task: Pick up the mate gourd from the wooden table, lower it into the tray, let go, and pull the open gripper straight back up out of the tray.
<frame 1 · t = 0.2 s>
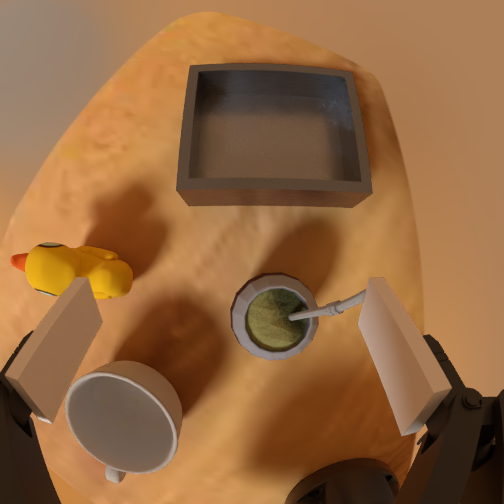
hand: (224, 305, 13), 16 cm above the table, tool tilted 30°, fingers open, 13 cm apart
teacup: (139, 407, 27), on the table
mate gourd: (272, 306, 29), on the table
duckling: (99, 273, 29), on the table
tray: (271, 143, 30), on the table
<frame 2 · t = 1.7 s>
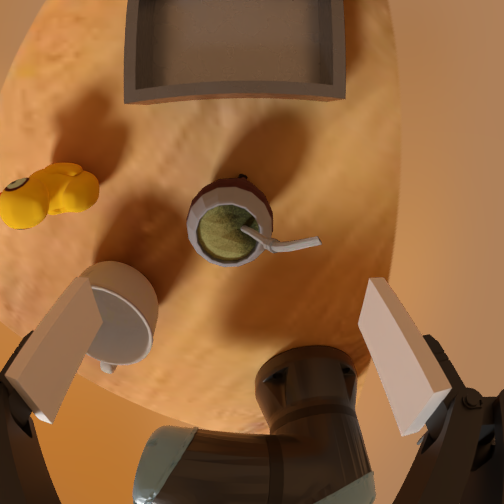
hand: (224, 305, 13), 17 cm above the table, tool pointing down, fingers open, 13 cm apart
teacup: (123, 297, 34), on the table
mate gourd: (236, 199, 29), on the table
duckling: (70, 182, 27), on the table
tray: (235, 30, 21), on the table
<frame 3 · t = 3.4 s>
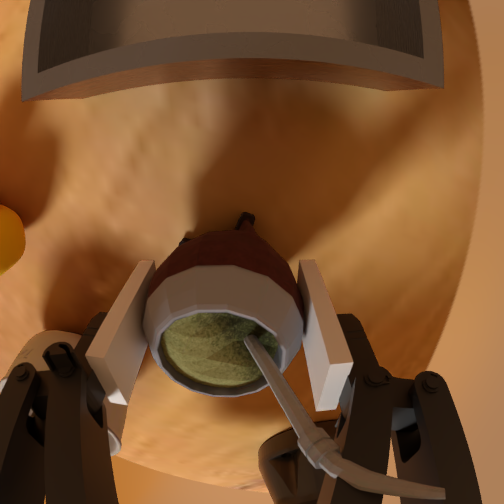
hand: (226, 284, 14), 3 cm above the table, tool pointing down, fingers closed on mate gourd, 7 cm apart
teacup: (86, 366, 23), on the table
mate gourd: (236, 253, 18), on the table, touching gripper
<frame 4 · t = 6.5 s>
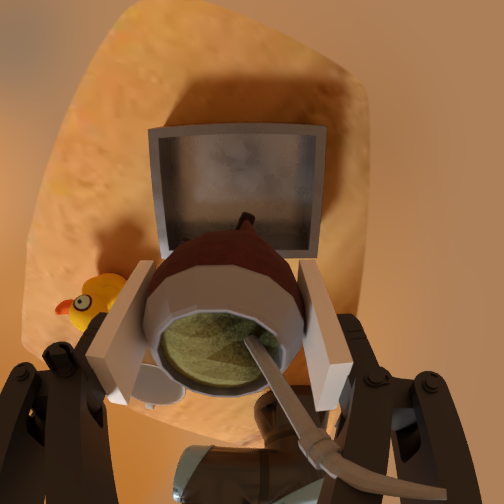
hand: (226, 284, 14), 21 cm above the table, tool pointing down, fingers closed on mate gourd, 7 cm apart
teacup: (158, 356, 46), on the table
mate gourd: (236, 252, 18), point 18 cm above the table, touching gripper
duckling: (115, 282, 40), on the table
tray: (238, 182, 33), on the table
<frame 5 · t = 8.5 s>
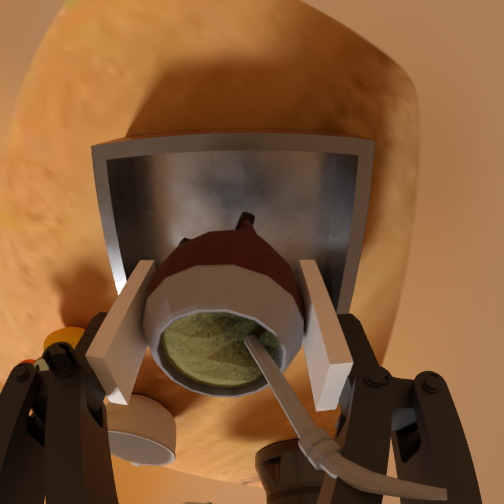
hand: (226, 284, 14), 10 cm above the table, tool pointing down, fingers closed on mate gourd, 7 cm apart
teacup: (143, 410, 36), on the table
mate gourd: (236, 252, 17), point 6 cm above the table, touching gripper
duckling: (83, 334, 29), on the table
tray: (234, 217, 23), on the table
when the fingers open (6 cm above the table, at t = 9.8 s): mate gourd drops 1 cm, resting on tray.
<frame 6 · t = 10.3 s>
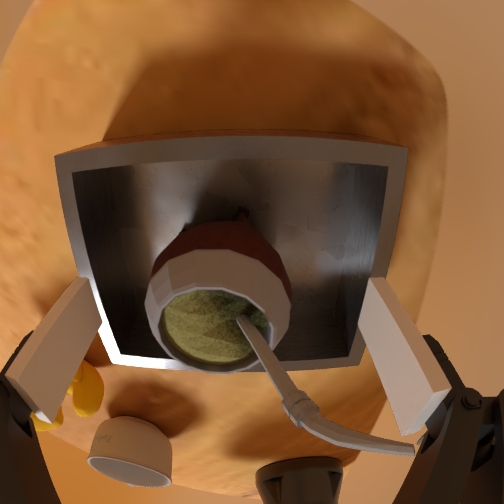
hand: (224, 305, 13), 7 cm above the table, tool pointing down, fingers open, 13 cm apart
teacup: (138, 430, 33), on the table
mate gourd: (231, 243, 19), point 1 cm above the table, touching tray
duckling: (70, 356, 26), on the table
tray: (232, 236, 20), on the table
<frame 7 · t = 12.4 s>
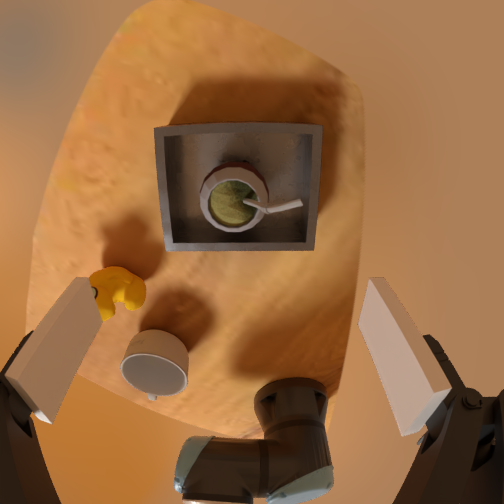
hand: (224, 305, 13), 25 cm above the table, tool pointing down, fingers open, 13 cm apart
teacup: (161, 348, 48), on the table
mate gourd: (239, 181, 34), point 1 cm above the table, touching tray
duckling: (119, 275, 41), on the table
tray: (239, 178, 35), on the table
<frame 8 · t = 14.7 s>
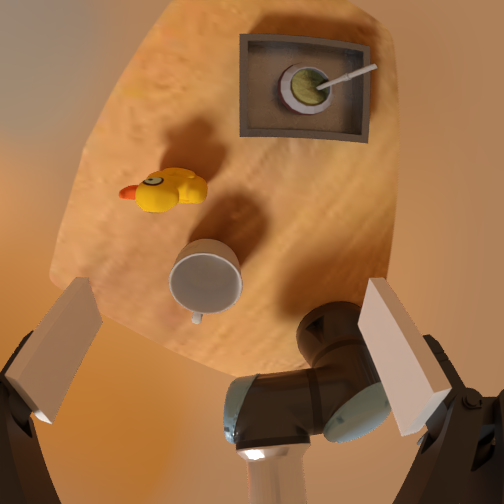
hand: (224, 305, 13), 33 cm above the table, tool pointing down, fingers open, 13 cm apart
teacup: (207, 267, 50), on the table
mate gourd: (301, 89, 36), point 1 cm above the table, touching tray
duckling: (176, 181, 43), on the table
tray: (300, 89, 37), on the table
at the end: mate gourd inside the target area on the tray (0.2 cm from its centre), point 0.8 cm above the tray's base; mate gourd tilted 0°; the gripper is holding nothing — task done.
